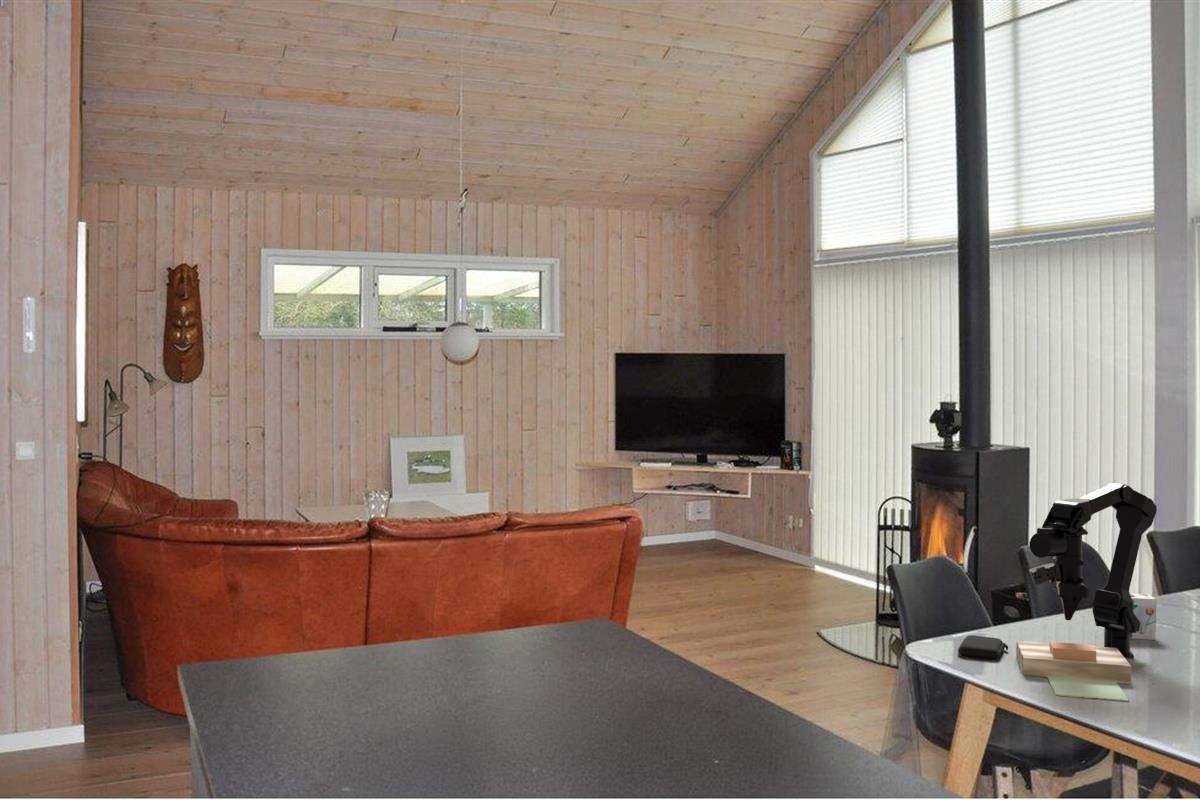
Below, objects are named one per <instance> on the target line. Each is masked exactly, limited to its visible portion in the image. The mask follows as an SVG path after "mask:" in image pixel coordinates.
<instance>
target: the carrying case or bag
mask: <svg viewBox="0 0 1200 800" xmlns="http://www.w3.org/2000/svg"><path fill="white" fill-rule="evenodd" d="M1005 649H1006V651H1008V650H1009V646H1008V645H1007V643H1005V642H1004V641H1003V640H1002V639H1001V638H999V637H991V636H990V637H989V636H980V635H972V634H971V635H967V636H966V637H965V638H964V639H963V641H962V642H961V644H960V646H959V647H958V649H957V654H959V655H960V657H962V658H966V659H967V658H968V659H976V660H981V661H982V660H984V661H991V662H992V661H997V660H998V659H1000V658H1001V657H1002V654H1003V652H1004V650H1005Z"/></svg>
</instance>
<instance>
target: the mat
mask: <svg viewBox="0 0 1200 800" xmlns="http://www.w3.org/2000/svg"><path fill="white" fill-rule="evenodd" d="M1046 678H1047V679H1048V681H1049V684H1050V686H1051V687H1052V690H1053V692H1054V694H1055V696H1060V697H1070V698H1081V697H1084V699H1092V698H1098V699H1097V700H1104V699H1106V701H1118V702H1126V703H1127V702H1130V700H1129V698H1128V697H1127V695H1126V694H1125V693H1124V691H1123V689H1122V688H1121V686H1119V683H1117V682H1116V681H1104V680H1092V679H1079V678H1067V677H1055V676H1047V677H1046Z"/></svg>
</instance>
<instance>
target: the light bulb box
mask: <svg viewBox="0 0 1200 800" xmlns="http://www.w3.org/2000/svg"><path fill="white" fill-rule="evenodd" d="M1129 593H1130V592H1129ZM1130 595H1131V598H1132V601H1133V613H1134V614H1135V616H1136V617H1137V618H1138V620H1139V621H1140V623H1141V624H1140V629H1139V631H1137V632H1136V633H1130V639H1134V640H1136V639H1137V640H1156V637H1157V636H1156V635H1157V634H1156V631H1157V601H1158V600H1157V598H1155V597H1153V596H1152V595H1151V594H1149V593H1132V592H1131V593H1130Z"/></svg>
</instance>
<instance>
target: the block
mask: <svg viewBox="0 0 1200 800" xmlns="http://www.w3.org/2000/svg"><path fill="white" fill-rule="evenodd" d="M1049 643H1050V652H1051V654H1052V656H1053V657H1063V658H1076V659H1089V660H1096V650H1095V648H1094V647H1093V646H1094V645H1093V644H1090V643H1089V644H1087V643H1086V644H1085V643H1074V642H1073V643H1071V642H1058V641H1049Z"/></svg>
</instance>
